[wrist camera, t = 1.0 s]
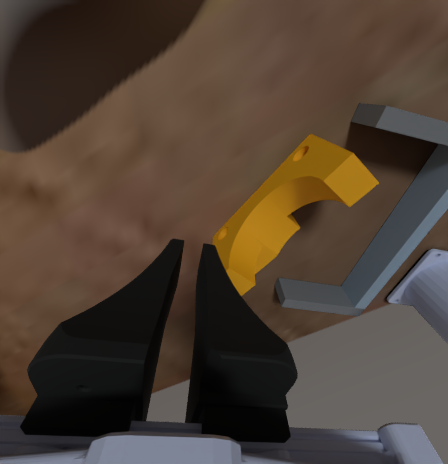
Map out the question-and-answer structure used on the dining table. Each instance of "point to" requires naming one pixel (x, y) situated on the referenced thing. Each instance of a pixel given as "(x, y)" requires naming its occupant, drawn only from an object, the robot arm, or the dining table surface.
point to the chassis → (393, 230)
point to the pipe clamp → (287, 205)
